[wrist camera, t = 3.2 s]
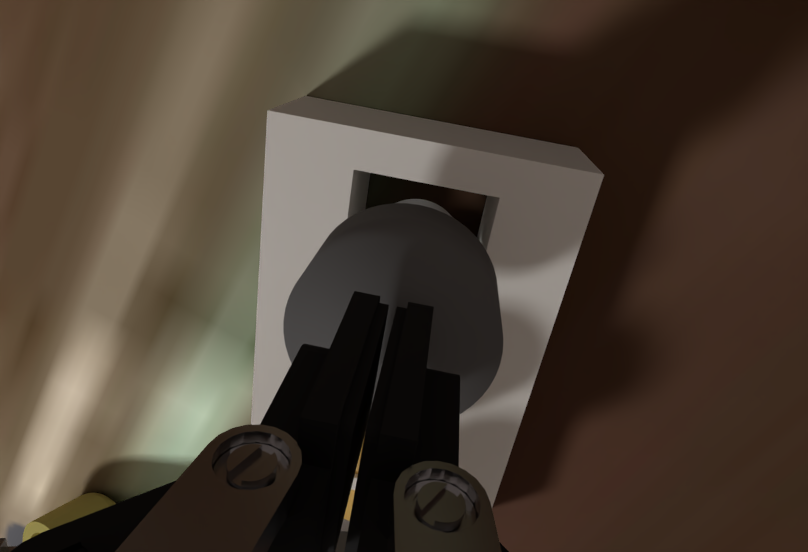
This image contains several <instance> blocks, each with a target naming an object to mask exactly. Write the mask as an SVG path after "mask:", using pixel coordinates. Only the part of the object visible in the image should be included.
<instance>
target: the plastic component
mask: <svg viewBox="0 0 808 552" xmlns="http://www.w3.org/2000/svg"><path fill="white" fill-rule="evenodd" d="M115 504H116V503H115V502H114V501H113V500H111V499H110V498H108V497H107V496H105V495H103V494H100V493H94V492H93V493H87V494H83V495H81V496H80V497H78V498H76V499H74V500H72V501H70V502H68V503H66V504H64V505H62V506H60V507H59V508H57V509H55V510H53V511H51V512H49V513H47V514H45V515H43V516H41V517H40V518H38V519H36V520H34V521H32V522H30V523H29V524H27V526H26V527H25V530H24V533H23V542H24V541H26V540H28V539H30V538H32V537H34V536H36V535H38V534H40V533H42V532H44V531H47V530H50V529H52V528H55V527H57V526H60V525H63V524H65V523H68V522H70V521H73V520H76V519H78V518H81V517H83V516H86V515H89V514H91V513H94V512H96V511H99V510H102V509H104V508H107V507H109V506H112V505H115Z"/></svg>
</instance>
